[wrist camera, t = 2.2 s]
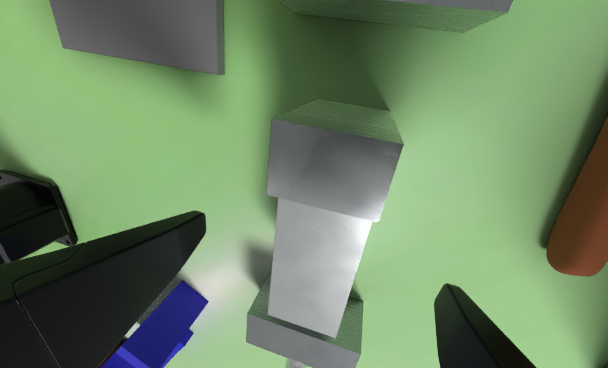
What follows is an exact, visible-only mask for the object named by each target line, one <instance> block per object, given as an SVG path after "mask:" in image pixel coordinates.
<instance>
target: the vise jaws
mask: <svg viewBox="0 0 608 368" xmlns="http://www.w3.org/2000/svg"><path fill="white" fill-rule="evenodd" d="M278 1H279V2H280V3H282V4H283V5H284V6H286V7H287V8H288V9H290V10H291V11H292V12H294V13H298V14H306V15H315V16H324V17H332V18H341V19H350V20H359V21H367V22H376V23H385V24H393V25H402V26H411V27H419V28H428V29H437V30H445V31H454V32H463V33H464V32H466V31H469V30H471V29H473V28H475V27H477V26H479V25H482V24H484V23H486V22H488V21H490V20H492V19H495V18H497V17H499V16H501V15H503V14H505V13H508V11H509V9H510V6H511V4H512V2H513V0H278ZM270 284H271V272H269V274H268V276H267V277H266V279H265V281H264V283H263V285H262V287H261V289H260V291H259V293H258V294H257V296H256V298H255V300H254V302H253V304H252V306H251V308H250V310H249V311H248V313H247V334H246V342H247V343H250V344H252V345H255V346H258V347H260V348H263V349H265V350H268V351H271V352H273V353H276V354H278V355H281V356H284V357H286V358H287V361H286V368H306V366H310V367H312V368H355V367H356V364H357V362H358V360H359V357H360V355H361V340H362V319H363V302H361V301H358V300H355V299H352V298H348V300H347V304H346V307H345V310H344V313H343V316H342V320H341V323H340V326H339V329H338V333H337V336H336V338H333V337H330V336H328V335H325V334H322V333H319V332H316V331H313V330H310V329H308V328H305V327H302V326H299V325H296V324H293V323H290V322H288V321H285V320H282V319H279V318H276V317H273V316H270V315H268V306H269V295H270Z"/></svg>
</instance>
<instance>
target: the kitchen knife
mask: <svg viewBox="0 0 608 368" xmlns="http://www.w3.org/2000/svg"><path fill="white" fill-rule="evenodd" d="M547 259H548V262H549V264H550V265H551V266H552V267H553V268H554V269H555V270H557V271H558V272H561V273H564V274H568V275H576V276H593V275H595V274H597V273H598V272H599V271H600V270H601V269H602V268H603V267H604V266H605V264H606V263H607V261H608V115H607V118H606V120H605V122H604V125H603V127H602V129H601V131H600V133H599V135H598V137H597V139H596V142H595V144H594V146H593V148H592V150H591V152H590V154H589V156H588V158H587V160H586V162H585V164H584V166H583V168H582V170H581V172H580V174H579V176H578V178H577V180H576V182H575V183H574V185H573V187H572V189H571V191H570V193H569V195H568V197H567V199H566V201H565V203H564V205H563V207H562V209H561V211H560V213H559V215H558V217H557V219H556V222H555V224H554V226H553V228H552V231H551V233H550V236H549V240H548V244H547Z"/></svg>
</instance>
